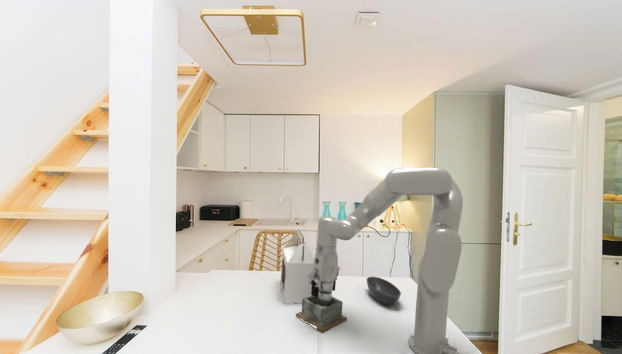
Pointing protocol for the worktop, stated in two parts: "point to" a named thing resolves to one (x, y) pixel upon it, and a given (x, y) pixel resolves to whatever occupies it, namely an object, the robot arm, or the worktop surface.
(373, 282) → the bowl
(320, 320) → the bottle holder
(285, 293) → the gable box
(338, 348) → the worktop surface
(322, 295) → the silver bottle
